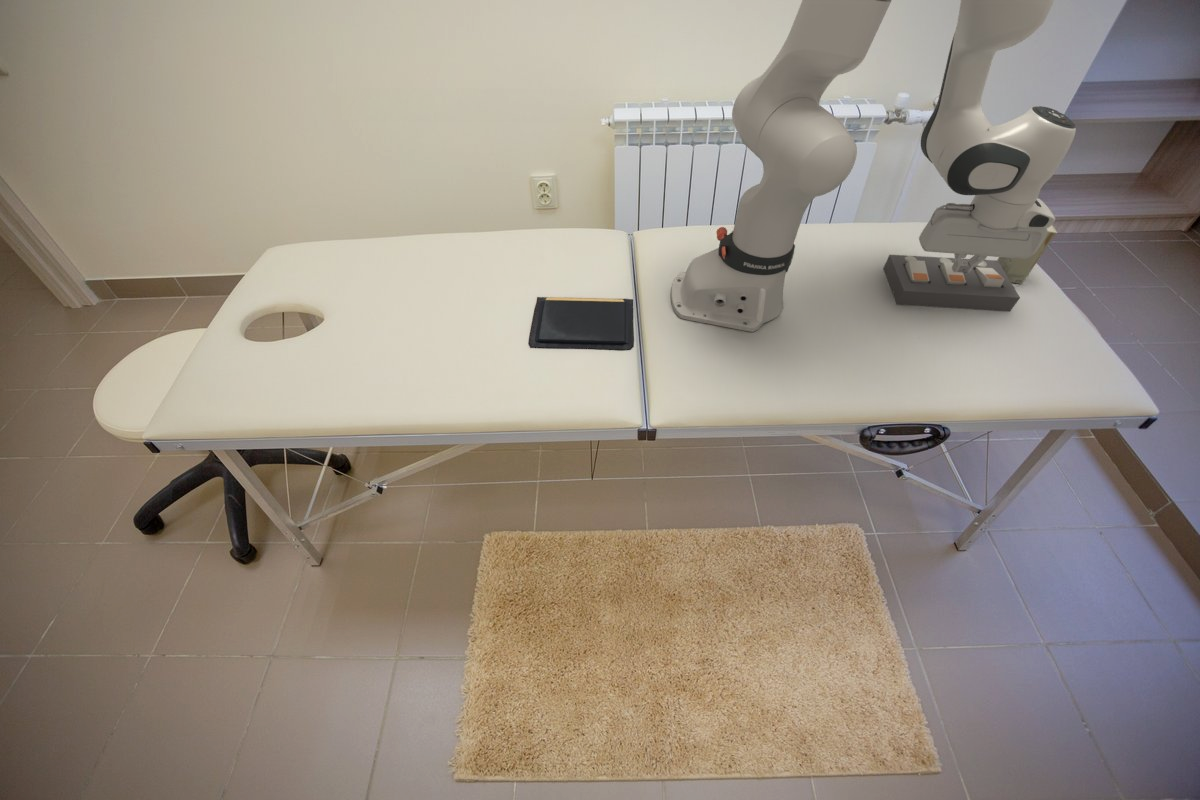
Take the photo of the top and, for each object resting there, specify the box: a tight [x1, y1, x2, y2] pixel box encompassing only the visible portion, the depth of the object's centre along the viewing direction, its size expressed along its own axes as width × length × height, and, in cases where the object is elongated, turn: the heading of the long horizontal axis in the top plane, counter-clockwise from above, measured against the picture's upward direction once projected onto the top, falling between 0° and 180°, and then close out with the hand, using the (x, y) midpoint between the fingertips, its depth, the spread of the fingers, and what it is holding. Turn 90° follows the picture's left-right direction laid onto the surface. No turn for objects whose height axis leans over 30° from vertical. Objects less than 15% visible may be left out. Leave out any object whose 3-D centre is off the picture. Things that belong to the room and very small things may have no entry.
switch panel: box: [882, 254, 1021, 312], centre depth 116 cm, size 22×12×4 cm, turn 85°
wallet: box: [528, 296, 635, 352], centre depth 110 cm, size 20×2×15 cm
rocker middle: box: [939, 262, 966, 285], centre depth 115 cm, size 3×5×2 cm, turn 175°
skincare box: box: [997, 224, 1058, 284], centre depth 116 cm, size 6×4×12 cm
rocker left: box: [905, 260, 929, 283], centre depth 115 cm, size 3×5×2 cm, turn 175°
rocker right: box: [975, 267, 1004, 287], centre depth 114 cm, size 3×5×2 cm, turn 175°
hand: (960, 270), depth 111 cm, fingers closed
